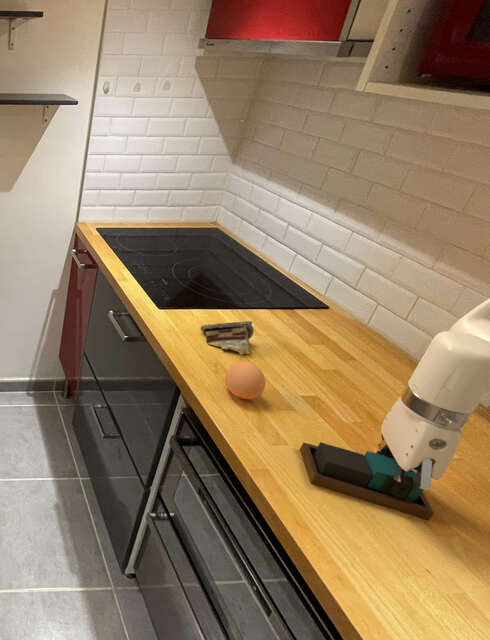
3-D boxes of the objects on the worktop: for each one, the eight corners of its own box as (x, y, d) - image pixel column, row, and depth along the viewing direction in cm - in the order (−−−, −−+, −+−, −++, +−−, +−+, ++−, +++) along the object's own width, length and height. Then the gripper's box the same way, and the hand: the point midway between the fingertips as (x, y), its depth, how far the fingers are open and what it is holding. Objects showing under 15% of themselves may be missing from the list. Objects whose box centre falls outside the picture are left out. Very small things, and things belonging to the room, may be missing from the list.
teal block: (403, 479, 79) (413, 463, 78) (415, 501, 75) (425, 485, 74) (358, 466, 81) (366, 450, 80) (367, 487, 78) (376, 471, 76)
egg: (219, 379, 104) (229, 350, 101) (256, 389, 101) (267, 359, 98) (222, 400, 98) (233, 370, 94) (261, 411, 95) (273, 380, 92)
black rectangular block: (354, 469, 82) (363, 454, 80) (364, 490, 78) (373, 475, 76) (312, 457, 84) (320, 442, 83) (319, 477, 80) (327, 461, 79)
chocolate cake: (197, 347, 116) (245, 333, 107) (197, 326, 120) (242, 312, 112) (220, 368, 118) (268, 357, 109) (218, 347, 122) (264, 334, 114)
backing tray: (407, 480, 81) (412, 473, 80) (428, 520, 74) (434, 512, 73) (299, 449, 86) (303, 442, 86) (310, 483, 80) (314, 476, 79)
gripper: (499, 454, 62) (438, 536, 70) (438, 377, 76) (392, 453, 84) (430, 435, 65) (378, 517, 73) (383, 365, 79) (344, 439, 87)
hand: (386, 481), depth 78 cm, fingers closed on teal block, 4 cm apart
